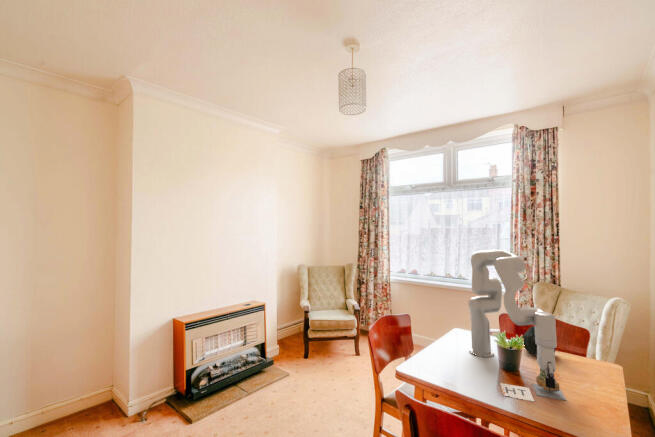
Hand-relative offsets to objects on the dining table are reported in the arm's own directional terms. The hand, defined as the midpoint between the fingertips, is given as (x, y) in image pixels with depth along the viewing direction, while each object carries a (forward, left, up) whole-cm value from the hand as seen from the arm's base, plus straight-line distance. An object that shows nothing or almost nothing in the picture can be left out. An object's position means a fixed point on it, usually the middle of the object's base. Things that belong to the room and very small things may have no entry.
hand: (547, 382), depth 128 cm
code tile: (+5, -12, -4) cm, 14 cm away
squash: (-44, +5, -4) cm, 45 cm away
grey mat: (0, 0, -4) cm, 4 cm away
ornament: (0, 0, -3) cm, 3 cm away
